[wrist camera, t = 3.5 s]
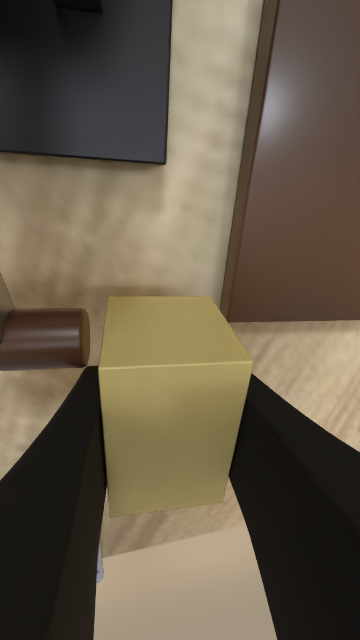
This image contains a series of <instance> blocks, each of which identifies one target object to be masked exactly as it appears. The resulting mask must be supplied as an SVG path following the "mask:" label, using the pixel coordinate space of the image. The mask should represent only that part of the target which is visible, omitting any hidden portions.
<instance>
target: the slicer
mask: <svg viewBox="0 0 360 640" xmlns="http://www.w3.org/2000/svg"><path fill="white" fill-rule="evenodd" d="M172 4H173V0H0V153H4V154H17V155H29V156H42V157H55V158H68V159H81V160H94V161H107V162H120V163H132V164H145V165H158V166H162V165H165V164H166V157H167V131H168V106H169V80H170V55H171V30H172Z"/></svg>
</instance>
